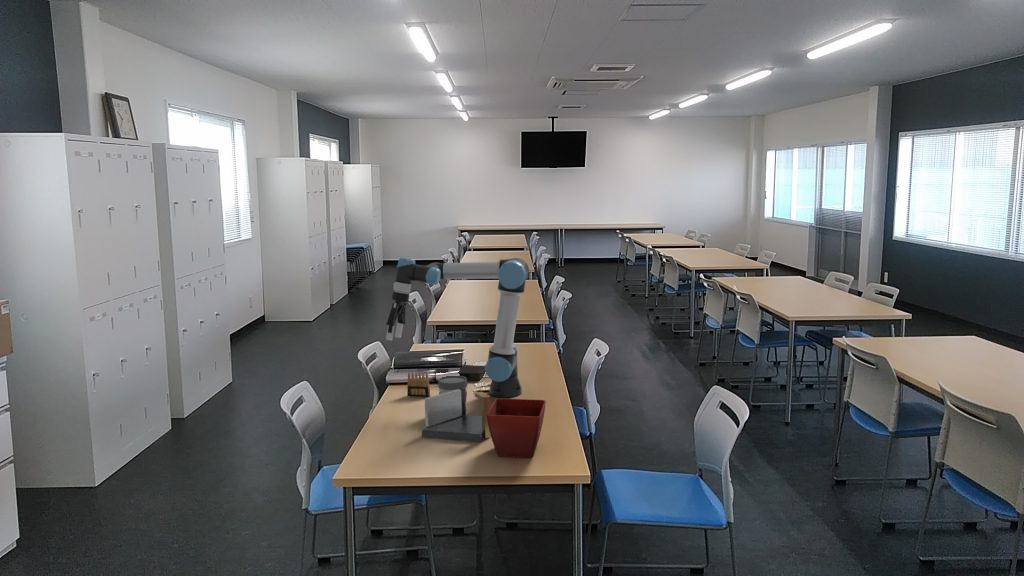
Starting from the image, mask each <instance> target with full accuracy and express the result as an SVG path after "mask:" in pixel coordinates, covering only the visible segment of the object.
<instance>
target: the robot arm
mask: <svg viewBox="0 0 1024 576" xmlns="http://www.w3.org/2000/svg"><path fill="white" fill-rule="evenodd" d="M529 274H530V267H529V265H528V263H527V262H526V261H525V260H524V259H522V258H519V257H513V258H505V259H499V260H498V261H487V262H485V261H481V262H480V261H479V262H477V261H475V262H474V261H473V262H431V263H429V264H426V265H420V264H417V263H416V260H415V259H412V258H407V257H400V258H399V259H398V262H397V265H396V272H395V278H394V283H392V285H393V292H392V296H391V300H393V301H394V302H392V305H391V309H390V311H389V316H388V317H387V322H386V323H385V324H386V326H387V328H386V329H387V330H386V336H385V340H387V341H393V337H394V338H397V339H398V338H399V339H401V337H402V333H403V329H404V328H403V327H404V325H406V310H407V309H406V307H407V303H408V302H409V299H410V293H411V289H412V282H417V283H423V284H428V285H438V284H439V283H440V281H441V280H468V279H470V280H471V279H472V280H475V279H476V280H479V279H481V280H482V279H484V280H485V279H486V280H488V279H490V280H491V279H498V284H497V290H498V291H499V293H500V295H499V302H498V309H497V317H496V325H495V332H494V339H493V345H492V346H490V347H489V349H488V350H489V351H488V357H487V360H486V361H487V362H486V363H485V365H484V366H485V370H486V376H487V377H488V378H489V379H490V380H491V383H490V386H489V394H490V395H489V396H492V397H496V398H513V397H518V396H520V395H521V394H523V392H522V391H523V389H522V388H523V387H522V385H521V382H520V380H519V375H518V373H519V371H518V367H519V366H518V347H517V345H515V344H514V342H515V341H514V340H515V339H514V338H515V334H516V333H515V332H516V326H517V318H518V313H519V305H520V298H521V295H523V294H524V293H525V288H526V281H527V279H528V277H529ZM396 321H397V323H396ZM395 323H396V328H395ZM394 331H395V332H394Z"/></svg>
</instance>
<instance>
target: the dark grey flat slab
mask: <svg viewBox="0 0 1024 576" xmlns="http://www.w3.org/2000/svg"><path fill="white" fill-rule="evenodd" d="M421 438H428V439H429V438H430V439H443V440H451V441H463V440H465V441H466V442H467V441H468V442H477V443H482V441H483V440H485V438H484V430H482V415H479V416H478V415H468V414H466V415H464V416H459V417H456V418H453V419H450V420H447V421H444V422H440V423H437V424H434V425H431V426H426V425H425V426H424V427H423V428H422V429H421ZM465 441H464V442H465Z"/></svg>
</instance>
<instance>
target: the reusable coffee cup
mask: <svg viewBox="0 0 1024 576" xmlns="http://www.w3.org/2000/svg"><path fill="white" fill-rule="evenodd" d="M437 387H438V390H439V393H438V395H439V394H442V393H446V392H450V391H453V390H457V389H459V388H465V393H466V399H467V397H468V396H467V395H468V391H467V387H468V381H467V379H466V377H463V376H446V377H442V378H440V379H439V380H437Z"/></svg>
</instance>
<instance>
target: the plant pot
mask: <svg viewBox="0 0 1024 576" xmlns="http://www.w3.org/2000/svg"><path fill="white" fill-rule="evenodd" d="M545 410H546V400H544V399H527V398H526V399H525V398H523V399H522V398H496V399H494V401H493V403H492V405H490V409H489V411H488V413H487V421H488V426H489V430H490V434H491V441H492V443H493V446H494V449H495V453H496V454H497V457H501V458H502V457H505V458H524V459H528V458H529V459H532V458H533V457H534V455H535V452H536V449H537V447H538V443H539V441H540V436H541V431H542V427H543V421H544V417H545V412H546V411H545Z"/></svg>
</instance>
